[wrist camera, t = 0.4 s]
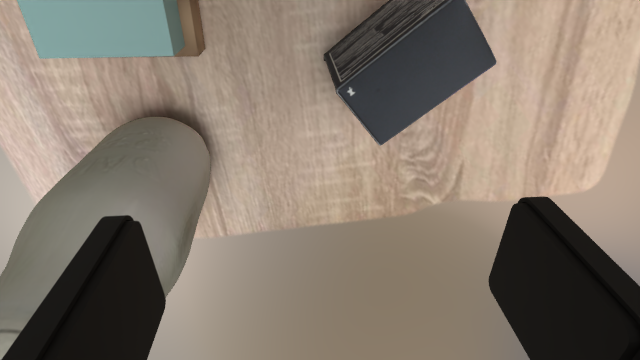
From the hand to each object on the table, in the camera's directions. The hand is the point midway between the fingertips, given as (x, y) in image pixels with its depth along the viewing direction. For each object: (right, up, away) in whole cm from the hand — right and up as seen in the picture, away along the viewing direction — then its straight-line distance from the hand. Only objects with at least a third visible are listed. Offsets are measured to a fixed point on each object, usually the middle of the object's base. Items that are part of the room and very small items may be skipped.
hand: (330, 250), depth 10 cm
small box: (+6, +15, +26) cm, 31 cm away
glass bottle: (-16, +6, +30) cm, 35 cm away
